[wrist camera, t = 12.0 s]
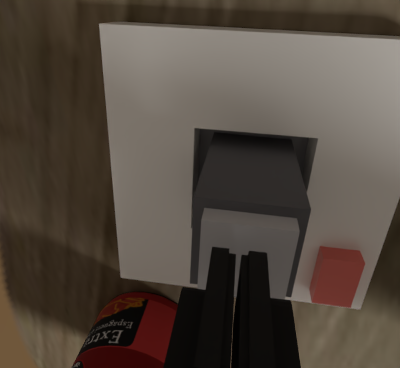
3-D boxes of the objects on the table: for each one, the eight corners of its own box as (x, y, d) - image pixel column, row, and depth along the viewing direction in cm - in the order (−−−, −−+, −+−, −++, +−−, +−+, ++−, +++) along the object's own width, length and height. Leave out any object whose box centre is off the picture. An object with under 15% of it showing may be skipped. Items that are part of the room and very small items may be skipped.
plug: (291, 139, 18) (315, 223, 11) (279, 206, 20) (293, 313, 13) (214, 132, 18) (189, 208, 11) (209, 198, 20) (186, 298, 13)
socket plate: (426, 37, 15) (468, 44, 12) (349, 280, 22) (365, 323, 19) (118, 21, 17) (89, 24, 14) (132, 252, 23) (114, 289, 20)
